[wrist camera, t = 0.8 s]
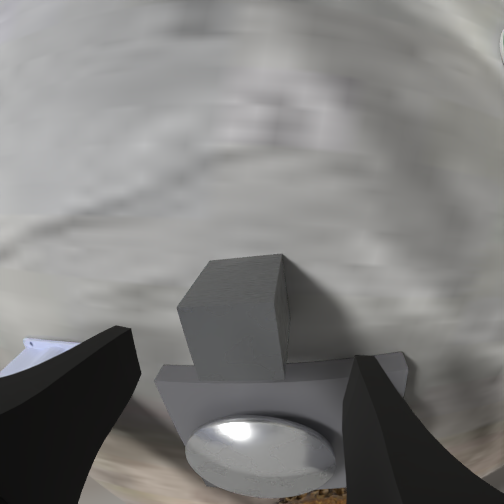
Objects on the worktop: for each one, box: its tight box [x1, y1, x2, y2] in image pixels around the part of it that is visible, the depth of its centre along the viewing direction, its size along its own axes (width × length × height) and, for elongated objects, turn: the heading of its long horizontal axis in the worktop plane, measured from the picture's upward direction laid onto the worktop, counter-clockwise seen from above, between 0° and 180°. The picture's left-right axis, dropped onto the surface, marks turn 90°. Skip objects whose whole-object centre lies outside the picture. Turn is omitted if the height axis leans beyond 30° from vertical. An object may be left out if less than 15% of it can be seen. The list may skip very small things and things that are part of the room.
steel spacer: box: [177, 254, 290, 381], centre depth 18 cm, size 4×4×6 cm
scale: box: [154, 352, 408, 490], centre depth 21 cm, size 18×16×7 cm
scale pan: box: [185, 415, 336, 498], centre depth 22 cm, size 12×12×1 cm
